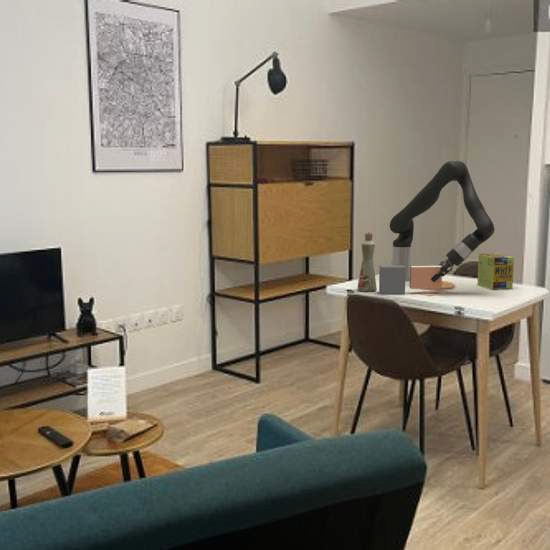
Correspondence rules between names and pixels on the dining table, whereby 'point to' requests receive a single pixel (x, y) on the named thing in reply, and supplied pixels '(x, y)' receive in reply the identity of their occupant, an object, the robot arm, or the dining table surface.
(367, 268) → the bottle
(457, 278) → the dining table surface
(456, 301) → the dining table surface
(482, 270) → the protein box
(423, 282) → the book
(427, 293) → the mat
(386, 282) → the block
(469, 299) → the dining table surface
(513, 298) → the dining table surface
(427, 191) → the robot arm
